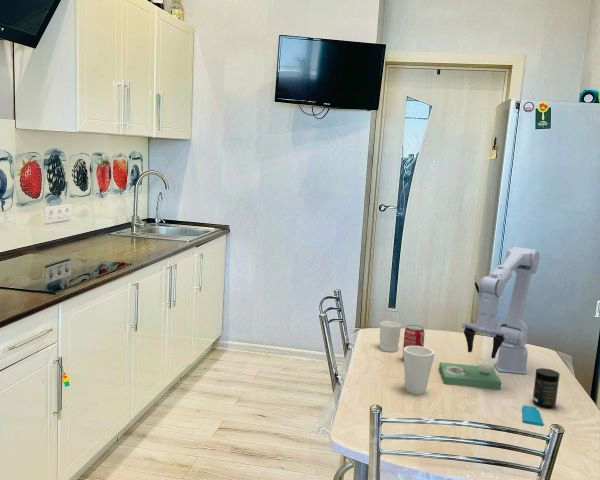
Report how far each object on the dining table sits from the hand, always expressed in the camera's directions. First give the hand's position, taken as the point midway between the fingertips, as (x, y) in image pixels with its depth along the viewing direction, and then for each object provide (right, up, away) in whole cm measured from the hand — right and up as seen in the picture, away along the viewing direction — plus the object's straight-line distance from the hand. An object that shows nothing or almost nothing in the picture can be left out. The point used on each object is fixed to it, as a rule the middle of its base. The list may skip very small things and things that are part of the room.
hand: (481, 354), depth 191 cm
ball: (+3, -6, +6) cm, 9 cm away
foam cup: (-23, -10, -6) cm, 25 cm away
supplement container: (+16, -13, -11) cm, 23 cm away
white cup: (-25, -5, +34) cm, 42 cm away
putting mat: (-2, -10, +7) cm, 12 cm away
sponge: (+9, -15, -20) cm, 26 cm away
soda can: (-19, -7, +21) cm, 29 cm away
